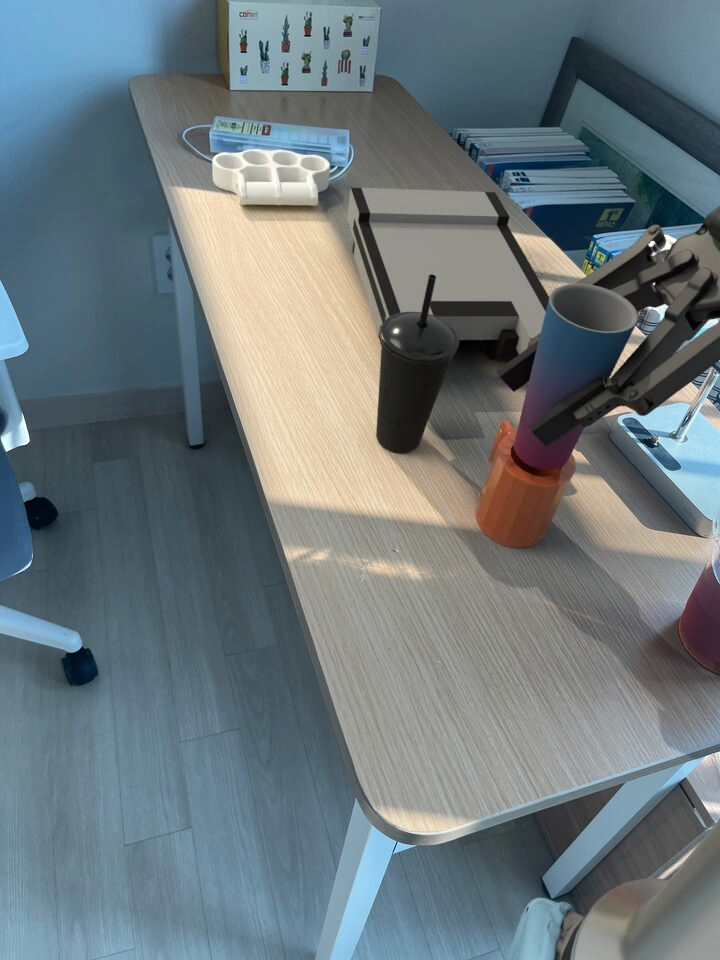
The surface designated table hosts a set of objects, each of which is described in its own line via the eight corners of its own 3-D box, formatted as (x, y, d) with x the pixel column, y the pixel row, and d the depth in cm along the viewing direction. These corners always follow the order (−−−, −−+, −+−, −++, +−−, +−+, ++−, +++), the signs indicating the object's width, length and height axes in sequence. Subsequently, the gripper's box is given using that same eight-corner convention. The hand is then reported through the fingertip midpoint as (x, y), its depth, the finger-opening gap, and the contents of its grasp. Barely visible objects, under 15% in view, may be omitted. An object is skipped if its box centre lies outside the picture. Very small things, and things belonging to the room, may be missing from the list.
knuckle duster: (217, 210, 110) (210, 164, 120) (338, 212, 114) (322, 167, 124) (216, 188, 108) (209, 143, 117) (340, 190, 112) (323, 146, 121)
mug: (558, 542, 74) (589, 481, 68) (491, 552, 72) (516, 490, 66) (517, 467, 81) (541, 404, 74) (455, 475, 79) (474, 411, 72)
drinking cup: (400, 404, 86) (433, 245, 71) (447, 444, 82) (492, 285, 68) (348, 430, 82) (372, 267, 67) (395, 473, 78) (431, 310, 64)
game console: (387, 388, 87) (398, 329, 81) (344, 242, 108) (350, 187, 102) (554, 384, 91) (576, 329, 86) (481, 244, 112) (495, 192, 107)
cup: (588, 445, 69) (648, 303, 59) (564, 488, 65) (623, 343, 54) (520, 416, 71) (566, 274, 61) (492, 456, 67) (536, 310, 56)
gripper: (695, 131, 59) (459, 316, 67) (860, 264, 47) (549, 472, 55) (720, 194, 65) (498, 359, 72) (875, 329, 53) (588, 510, 60)
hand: (520, 407), depth 64 cm, fingers closed on cup, 6 cm apart
